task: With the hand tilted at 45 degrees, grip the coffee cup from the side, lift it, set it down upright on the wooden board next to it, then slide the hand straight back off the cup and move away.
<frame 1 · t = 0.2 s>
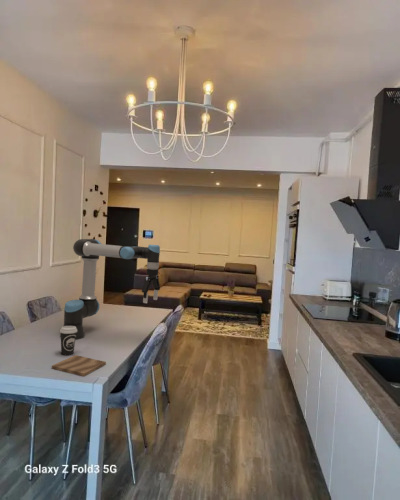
hand: (150, 301, 227), 28 cm above the table, tool pointing down, fingers open, 13 cm apart
coffee cup: (67, 353, 201), on the table
wooden board: (79, 366, 183), on the table
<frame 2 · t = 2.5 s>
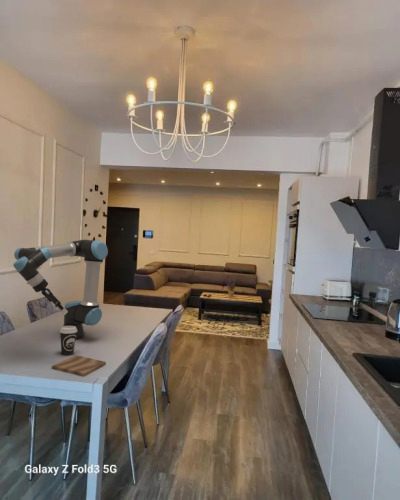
hand: (62, 311, 196), 25 cm above the table, tool tilted 40°, fingers open, 13 cm apart
nothing on the table moved.
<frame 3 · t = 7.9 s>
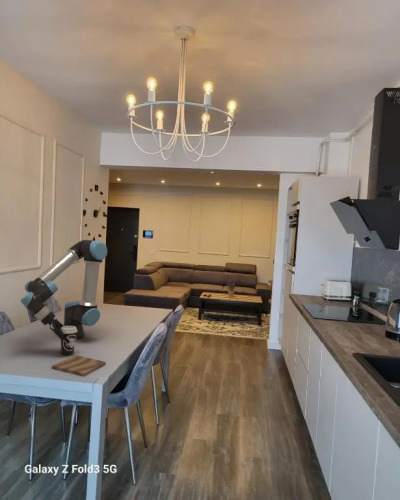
hand: (74, 343, 201), 6 cm above the table, tool tilted 45°, fingers closed on coffee cup, 8 cm apart
coffee cup: (67, 353, 201), on the table, touching gripper
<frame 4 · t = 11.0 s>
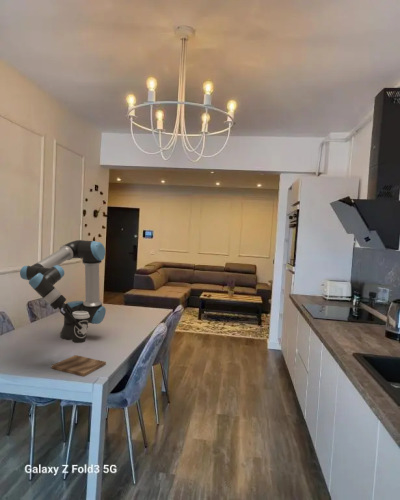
hand: (86, 330, 183), 19 cm above the table, tool tilted 45°, fingers closed on coffee cup, 8 cm apart
coffee cup: (78, 341, 183), point 13 cm above the table, touching gripper
when the fingers open (8 cm above the table, at t = 14.2 s): coffee cup stays where it is, resting on wooden board.
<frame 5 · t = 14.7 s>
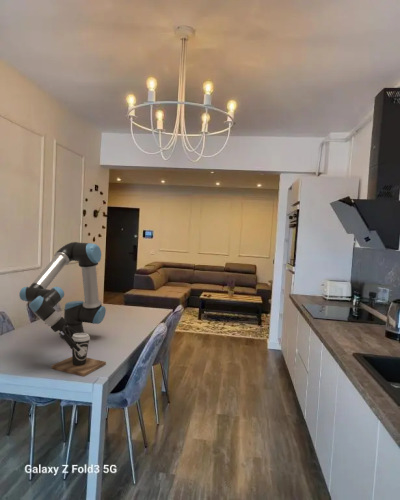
hand: (84, 350, 183), 9 cm above the table, tool tilted 45°, fingers open, 13 cm apart
coffee cup: (79, 363, 184), point 1 cm above the table, touching wooden board
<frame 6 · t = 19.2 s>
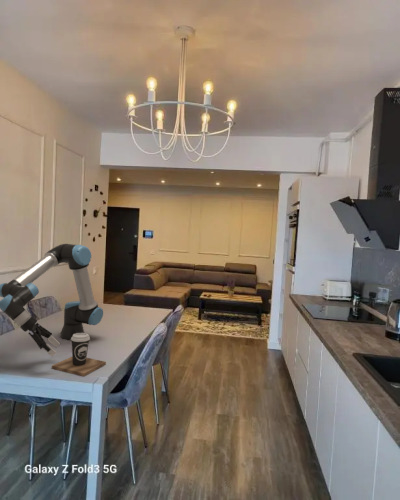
hand: (56, 350, 180), 9 cm above the table, tool tilted 45°, fingers open, 13 cm apart
nothing on the table moved.
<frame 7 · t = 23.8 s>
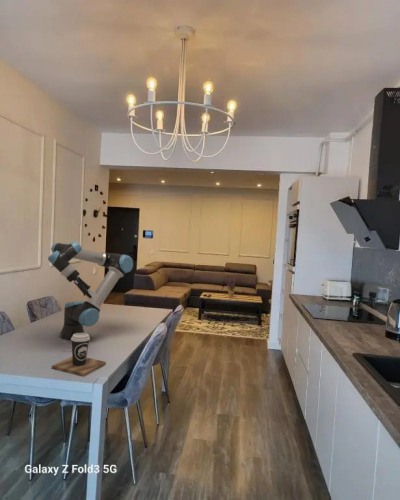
hand: (95, 299, 213), 30 cm above the table, tool tilted 45°, fingers open, 13 cm apart
nothing on the table moved.
at the end: coffee cup inside the target area on the wooden board (0.6 cm from its centre), point 1.3 cm above the wooden board's base; coffee cup tilted 0°; the gripper is holding nothing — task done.
